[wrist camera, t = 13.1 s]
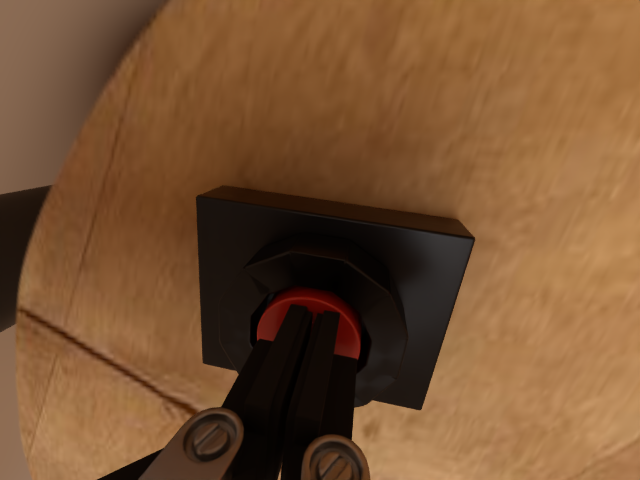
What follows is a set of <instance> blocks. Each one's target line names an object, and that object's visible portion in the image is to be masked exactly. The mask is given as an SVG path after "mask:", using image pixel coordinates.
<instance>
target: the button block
mask: <svg viewBox="0 0 640 480" xmlns="http://www.w3.org/2000/svg"><path fill="white" fill-rule="evenodd" d="M196 208H197V232H198V257H199V282H200V306H201V331H202V356H203V363H204V364H207V365H212V366H216V367H221V368H226V369H230V370H235V371H237V372H238V374H239V373H240V372H241V370H242V368H243V366H244V364H245V362H246V360H247V359H248V357H249V355H250V353H251V351H252V349H253V348H254V346H255V344H256V342H257V327H258V323H259V321H260V318H261V316H262V315H263V313H264V311H265V310H266V308H267V306H268V304H269V303H270V301H271V299H272V298H273V296H274V294H275V293H276V292H277V291H280V290H284V289H287V288H290V287H293V286H302V287H307V288H313V289H318V290H324V291H329V292H333V293H334V294H335V295H337V296H338V297H339V298H341V299H342V300H343V301H345V302H346V303H348V304H349V305H350V306H352V307H353V308H354V309H356V310H357V311H358V312H359V315H360V317H361V319H362V332H361V349H360V355H359V358H358V360H357V373H356V387H355V401H354V408H355V407H360V406H364V405H367V404H368V403H369V402H370V401H372V400H374V401H379V402H383V403H388V404H393V405H397V406H402V407H407V408H411V409H416V410H421V409H422V406H423V403H424V400H425V397H426V394H427V391H428V387H429V384H430V381H431V378H432V375H433V372H434V368H435V365H436V362H437V359H438V356H439V353H440V349H441V346H442V343H443V340H444V337H445V334H446V330H447V327H448V324H449V321H450V318H451V315H452V311H453V308H454V305H455V302H456V299H457V296H458V292H459V289H460V286H461V283H462V280H463V277H464V273H465V270H466V267H467V264H468V261H469V258H470V254H471V251H472V248H473V245H474V242H475V237H474V236H473V235H472V234H471V233H470V232H469V231H468V230H467V229H466V228H465V226H464V225H463V224H462V223H461V222H460V221H459V220H456V219H449V218H442V217H436V216H429V215H422V214H415V213H408V212H401V211H394V210H388V209H381V208H374V207H367V206H360V205H353V204H346V203H340V202H333V201H326V200H319V199H312V198H305V197H299V196H292V195H285V194H278V193H271V192H264V191H257V190H251V189H244V188H237V187H230V186H220V187H218V188H215V189H213V190H210V191H208V192H205V193H203V194H200V195H198V196H197V197H196Z"/></svg>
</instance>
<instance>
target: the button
mask: <svg viewBox="0 0 640 480" xmlns="http://www.w3.org/2000/svg"><path fill="white" fill-rule="evenodd" d="M291 304H296V305H301V306H306V307H307V311H309V312H313V315H312V324H311V332H312V329H313V325H314V322H315V319H316V316H317V313H320V314H323V313H324V310H328V311H333V312H338V313H340V319H339V325H338V332H337V338H336V344H335V351H334V354H338V355H342V356H347V357H352V358H357V360H358V358H359V355H360V349H361V332H362V319H361V317H360V315H359V312H358V311H357V310H356V309H354V308H353V307H352V306H350V305H349V304H348V303H346V302H345V301H343V300H342V299H341V298H339V297H338V296H337V295H335V294H334V293H333V292H329V291H324V290H318V289H313V288H307V287H302V286H293V287H290V288H287V289H284V290H280V291H277V292H276V293H275V294H274V296H273V298H272V299H271V301H270V303H269V304H268V306H267V308H266V310H265V311H264V313H263V315H262V316H261V318H260V321H259V323H258V327H257V341H258V340H259V339H264V340H269V341H274V339H275V337H276V334H277V332H278V330H279V328H280V326H281V324H282V322H283V319H284V317H285V315H286V313H287V311H288V309H289V307H290V305H291ZM311 332H310V335H311Z"/></svg>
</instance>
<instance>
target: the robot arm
mask: <svg viewBox="0 0 640 480" xmlns="http://www.w3.org/2000/svg"><path fill="white" fill-rule="evenodd" d="M312 315H313V312H309V311H307V307H306V306H301V305H296V304H291V305H290V307H289V309H288V311H287V313H286V315H285V317H284V319H283V322H282V324H281V326H280V328H279V330H278V332H277V334H276V337H275V339H274V341H269V340H264V339H259V340H258V341H257V342H256V344H255V346H254V348H253V349H252V351H251V353H250V355H249V357H248V359H247V360H246V362H245V364H244V366H243V368H242V370H241V372H240V373H239V375H238V377H237V379H236V381H235V383H234V384H233V386H232V388H231V390H230V392H229V394H228V395H227V397H226V399H225V401H224V403H223V405H222V406H221V407H217V408H209V409H206V410H202V411H200V412H198V413H197V414H195V415H193V416H192V417H191V418H190V419H189V420H188V421H187V422H186V423H184V425H183V426H182V427H181V428H180V429H179V431H178V432H177V433H176V434H175V435H174V437H173V438H172V439H171V440H170V442H169V443H168V444H167V445H166V446H165V448H163V449H161V450H159V451H157V452H154V453H152V454H150V455H148V456H146V457H144V458H142V459H140V460H138V461H135V462H133V463H131V464H129V465H127V466H125V467H123V468H121V469H119V470H116V471H114V472H112V473H110V474H108V475H106V476H104V477H102V478H99V479H97V480H277V479H278V476H279V472H280V468H281V465H282V471H281V480H370V472H369V467H368V463H367V460H366V457H365V456H364V454H363V452H362V450H361V449H360V448H359V447H358V446H357V445H356V444H355V443H354V442H353V441H352V428H353V414H354V401H355V387H356V373H357V358H352V357H347V356H342V355H338V354H334V351H335V344H336V338H337V332H338V325H339V319H340V313H338V312H333V311H328V310H324V313H323V314H320V313H317V316H316V319H315V322H314V325H313V329H312V332H311V324H312ZM310 332H311V335H310Z"/></svg>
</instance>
